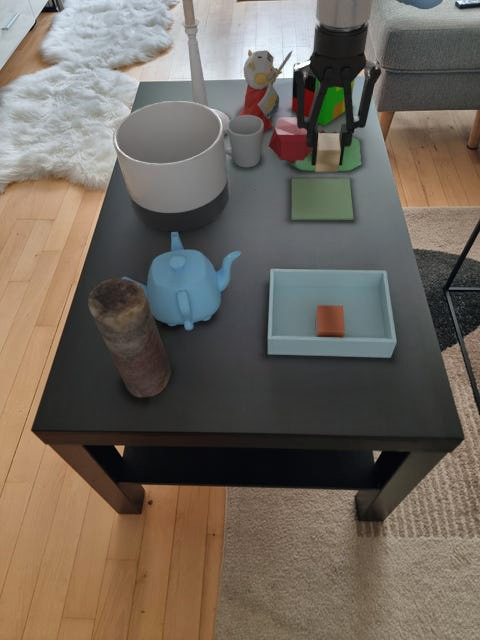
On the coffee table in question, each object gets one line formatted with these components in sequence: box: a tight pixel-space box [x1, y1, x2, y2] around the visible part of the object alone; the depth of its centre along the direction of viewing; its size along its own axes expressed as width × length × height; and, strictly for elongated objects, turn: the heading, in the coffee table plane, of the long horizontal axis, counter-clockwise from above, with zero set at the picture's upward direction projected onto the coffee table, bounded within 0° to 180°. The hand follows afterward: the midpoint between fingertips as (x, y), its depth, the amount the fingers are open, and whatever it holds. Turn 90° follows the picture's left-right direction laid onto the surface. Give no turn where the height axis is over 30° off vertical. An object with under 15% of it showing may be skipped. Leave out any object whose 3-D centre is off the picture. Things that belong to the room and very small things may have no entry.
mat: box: [290, 178, 355, 221], centre depth 97 cm, size 12×12×1 cm
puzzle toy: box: [291, 59, 355, 126], centre depth 112 cm, size 10×10×10 cm
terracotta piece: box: [315, 305, 345, 338], centre depth 76 cm, size 4×5×4 cm
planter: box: [112, 100, 230, 232], centre depth 91 cm, size 19×19×18 cm
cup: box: [223, 115, 264, 168], centre depth 103 cm, size 8×10×8 cm
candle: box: [87, 278, 172, 398], centre depth 67 cm, size 8×7×20 cm
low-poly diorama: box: [268, 116, 362, 172], centre depth 102 cm, size 15×20×9 cm
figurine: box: [238, 49, 293, 131], centre depth 109 cm, size 13×12×15 cm
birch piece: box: [314, 132, 341, 173], centre depth 85 cm, size 4×5×4 cm
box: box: [267, 268, 397, 359], centre depth 78 cm, size 19×14×4 cm
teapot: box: [121, 231, 242, 331], centre depth 79 cm, size 15×14×11 cm
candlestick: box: [181, 0, 231, 136], centre depth 102 cm, size 13×13×30 cm
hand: (326, 160), depth 87 cm, fingers closed on birch piece, 4 cm apart
